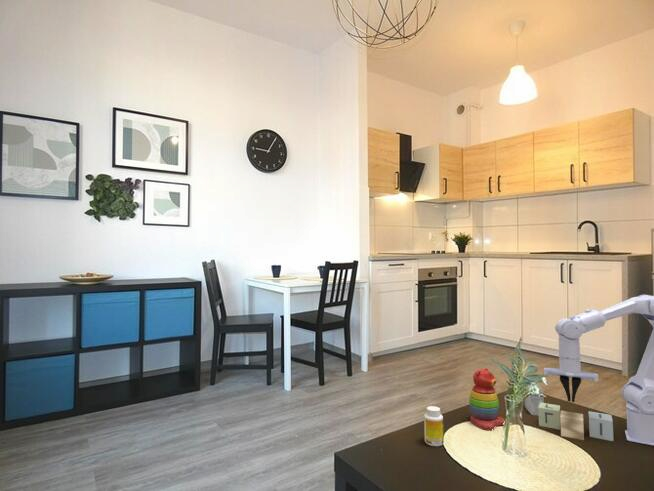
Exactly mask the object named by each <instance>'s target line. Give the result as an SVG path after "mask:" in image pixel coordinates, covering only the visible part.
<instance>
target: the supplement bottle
mask: <svg viewBox="0 0 654 491" xmlns="http://www.w3.org/2000/svg"><path fill="white" fill-rule="evenodd" d="M423 420H424V422H423V426H424V429H423V430H424V432H423V433H424V442H425V444H426V445H428V446H431V447H440V446H443V444H444V416H443V414H441V408H440V407H438V406H436V405H435V406H433V405H430V406H427V407H426V413H424V415H423Z"/></svg>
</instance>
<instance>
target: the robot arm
mask: <svg viewBox="0 0 654 491" xmlns="http://www.w3.org/2000/svg"><path fill="white" fill-rule="evenodd" d="M584 311H585V312H581V313H579V314H577V315H570V316H569V318H561V319H559V320H558V321H557V322H556V325H555V326H554V329H555V331H556V333H557V334H558V358H559V360H558V362H559V368H555V367H544V368H543V375H544V376H556V377H559V382H560V383H561V385H562V386H563V389H564V391H565V394H566V399H567V402H572V403H575V401H576V395H577V392H578V389H579V387H580V385H581V384H582V380H585V381H593V382H597V383H598V382H599V374H598V373H594V372H588V371H584V370H583V371H582V368H581V366H582V365H581V346H580V345H581V344H580V338H581V337H582V336H583V334H585V333H588V332H591V331H594V330H598V329H600V328H603V327H605V324H606V322H607V321H610V320H613V319H617V318H621V317H623V316H627V315H629V314H630V315H631V314H639V315H642V317H644V318H645V319H646V320H648V322H649V323H650V325H651V326H652V328H653V329H652V331H651V334H650V336H649V339H648V341H647V345H646V348H645V351H644V353H643V356H642V358H641V361H640V363H639V365H638V369H637V372H636V374H635V375H632V376H631V377H630V378H629V380H628V382H627V383H626V384H625V385H623V387H622V388H621V392H620V393H621V396H622V398H623V400H624V401H625V402H626V403H625V404H626V405H625V406H626V429H625V430H624V432H625V437H626V441H629V442H633V443H638V444H643V445H648V446H654V295H650V294H640V295H638V296H634V297H633V296H632V297H630V298H628V299H626V300H623V301H621V302H618V303H617V304H614V305H612V306H609V307H607V308H604V309H601V310H600V311H599V310H597V309H590V308H587V309H585V310H584ZM570 379H571V390H570Z"/></svg>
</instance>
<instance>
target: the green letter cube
mask: <svg viewBox="0 0 654 491" xmlns="http://www.w3.org/2000/svg"><path fill="white" fill-rule="evenodd" d="M538 412H539V416H538V426H539V427H543V428H549V429H554V430H559V431H561V420H560V415H561V406H560V405H559V404H551V403H545V402H544V403H541V402H540V404H539V407H538Z"/></svg>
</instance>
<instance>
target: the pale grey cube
mask: <svg viewBox="0 0 654 491" xmlns="http://www.w3.org/2000/svg"><path fill="white" fill-rule="evenodd" d="M613 422H614V420H613V417H612V414H607V413H601V412H596V411H589V410H588V429H589V430H588V431H589V437H590V438H594V439H598V440H599V439H600V440H605V441H609V442H615V441H614V424H613Z"/></svg>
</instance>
